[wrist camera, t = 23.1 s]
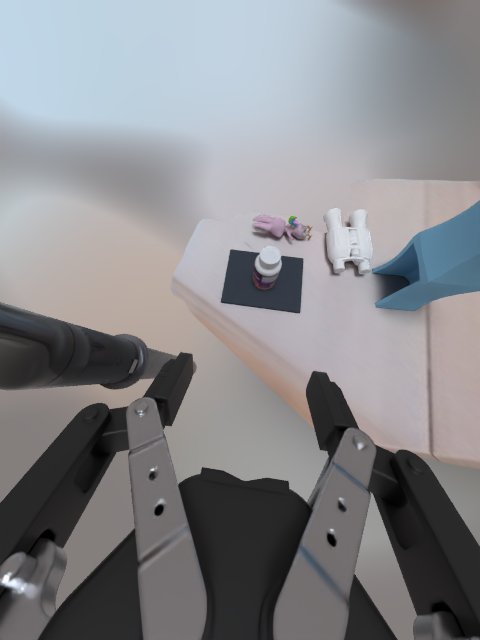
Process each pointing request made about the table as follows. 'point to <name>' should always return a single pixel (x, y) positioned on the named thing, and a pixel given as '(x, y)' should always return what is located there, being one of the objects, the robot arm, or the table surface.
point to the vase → (437, 263)
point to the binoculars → (348, 241)
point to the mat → (248, 294)
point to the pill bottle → (267, 267)
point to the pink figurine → (282, 226)
